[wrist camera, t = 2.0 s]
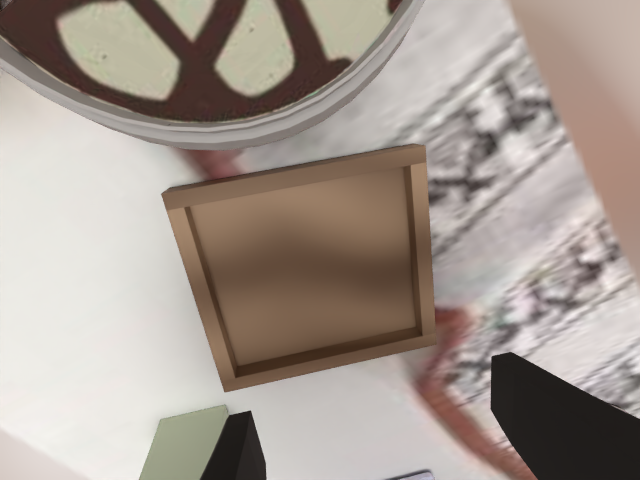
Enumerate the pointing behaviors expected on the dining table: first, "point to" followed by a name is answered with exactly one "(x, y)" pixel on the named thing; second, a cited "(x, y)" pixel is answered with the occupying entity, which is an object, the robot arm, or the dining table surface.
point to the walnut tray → (309, 263)
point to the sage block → (184, 445)
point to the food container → (202, 62)
